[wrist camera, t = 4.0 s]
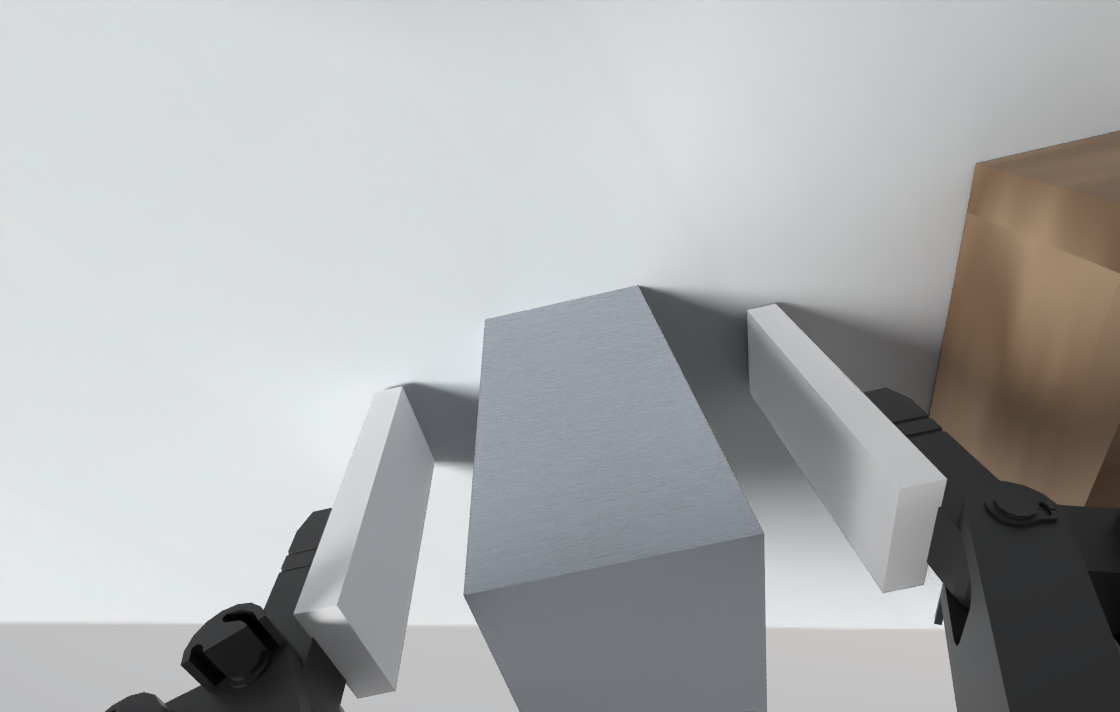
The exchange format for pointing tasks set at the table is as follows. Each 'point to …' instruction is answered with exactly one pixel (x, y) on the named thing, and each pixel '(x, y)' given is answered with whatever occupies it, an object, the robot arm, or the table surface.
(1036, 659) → the robot arm
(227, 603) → the table surface
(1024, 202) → the rectangular wooden frame
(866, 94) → the table surface
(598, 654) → the gray concrete brick
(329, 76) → the table surface
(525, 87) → the table surface
